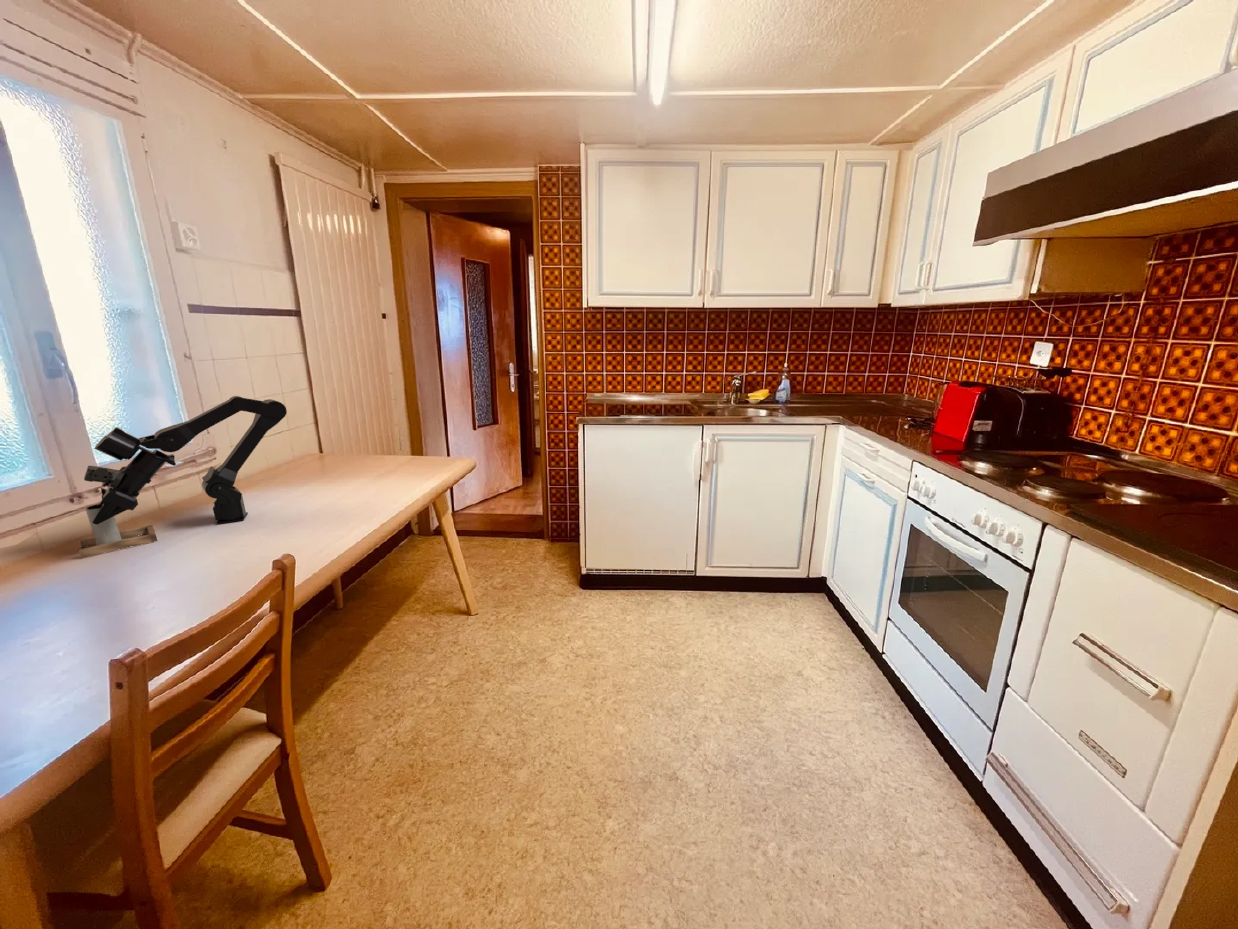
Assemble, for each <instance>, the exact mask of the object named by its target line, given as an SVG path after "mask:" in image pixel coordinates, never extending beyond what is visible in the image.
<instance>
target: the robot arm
mask: <svg viewBox="0 0 1238 929" xmlns="http://www.w3.org/2000/svg"><path fill="white" fill-rule="evenodd" d="M239 412H247V413H251V414H254V417H253V421H252V423H251V424H250V426H249V428H247V430H246V431H245V432H244V434H243V436H242V437H241V438H240V439H239V441H238V442H237V443H236V445H235V446H234V447H233V449H232V451H231V452H230V453H229V455H227V457H226V459H225V460H224V462H222V464H220V465H219V466H217V467H213V466H210V467H209V469H208V471H207V472H206V474H205V475H204V476H202V477H201V479H202V482H201V487H202V490H203V491H204V492H205V494H206V495H207V496H208V497H210V498H211V499H215V500H214V502H213V505H214V506H213V507H212V511H213V516H214V520H215V521H216V522H215V523H216V524H217V525H222V524H228V523H234V522H241V521H242V522H243V521H244V520H245V519H246V517H247V516H248V515H249V513H248V512H246V507H245V501H244V498H243V493H241V491H239V489H238V488H237V487H236V486H234V485H235V482H236V479H237V476H238V473H239V471H240V470H241V468H242V467H243V465H245V462H246V461H247V460H248V459H249V457H250V456H251V454H253V452H254V450H255V449H256V448H257V446H258V445H259V443H260V442H261V441H262V439H263V438H264V437H265V435H266V434H267V433H268V431H269V430H272V428H274V427H275V426H277V425H278V424H279V423H280V422H281V421H282V420H283V419H284V418H285V417H286V415H287V413H288V412H287V407H286V406H285V404H283V403H282V402H280V401H277V400H274V399H264V400H258V399H251V398H245V397H242V396H239V395H233V396H231V397H230V398H229V399H227V400H225V401H224V402H222V403H220V404H218V405H216V406H214V407H211V408H210V409H208V410H206V411H204V412H202V413H200V414H199V415H196V416H195V417H193V418H191V419H189V420H187V421H184V422H180V423H177V424H173V425H169V426H168V427H163V428H161V429H159V430H157V431H155V433H153V434H151V435H147V436H141V437H136V436H134V435H132V434H131V433H128V432H125V431H124V430H123V429H121V428H120V427H114V428H113V430H111V431H109V433H107V435H104V436H103V437H102V438H101V439H100V440H99V442H97V443H96V445H95V447H94V450H96V451H99V452H100V453H103V454H104V455H108V456H110V457H111V458H113V459H116V460H119V461H123V460H131V461H130V462H129V463H128V464H127V465H125V466H122V467H121V468H120V469H113V468H109V467H103V466H95V465H87V469H86V472H85V474H84V479H83V480H84V481H85V482H89V483H91V482H96V483H101V486H102V487H100V491H101V500H100V502H99V504H103V503H104V504H103V505H102V507H101V509H100V510H99V512H98V513H97V515H96V517H95V518H94V520H93V522H92V523H93V524H96V525H98V524H100V523H102V522H104V521H106V520H108V519H110V518H112V517H116V516H118V515H120V514H122V513H124V512H126V511H134V510H135V509H136V508H137V506H139V502H138V498H137V497H138V496H139V495H140V492H141V491H142V489H143V488H145V486H146V485H147V484H148V485H149V484H150V483H151V482H152V479H153V477H154V476H155V475H156V474H157V473H158V471H160V469H161V468H162V467H163V466H164V465H165V464H169V465H171V466H174V467H175V466H176V465H177V464H176V460H175V455H174V454H173V453H175V452H178V451H180V450H181V449H182V448H184V447H185V446H186V445H188V444H189V443H190V442H191V441H192V440H193V439H194V438H195V437H197V436H198V435H199V434H201V433H203V432H204V431H206V430H208V429H210V428H212V427H213V426H215V425H217V424H219V423H221V422H223V421H224V420H226V419H228V418H230V417H232V416H234V415H236V414H238V413H239ZM153 449H154V450H153ZM139 450H140V451H139ZM152 450H153V451H152ZM138 451H139V452H138ZM165 452H166V453H171V454H166V453H165ZM136 454H137V455H136ZM133 457H134V458H133ZM132 458H133V459H132ZM104 487H106V488H104Z"/></svg>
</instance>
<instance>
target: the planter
mask: <svg viewBox="0 0 1238 929" xmlns="http://www.w3.org/2000/svg"><path fill="white" fill-rule="evenodd" d="M103 504H104V503H103ZM103 504H100V503H97V504H93V505H90V506H87V507H85V511H86V515H87V518H88V521H89V524H90V528H91V531H92V534H93V537H95V540H96V543H97V545H96V546H98V545H103V544H107V543H112V542H116V541H121V540H122V539H121V536H120V533H119V532H120V529H119V527H118V523H117V521H116V516H114V517H112V518H110V519H108V520H106V521H104V522H102V523H100V524H98V525H96V524H93V523H92V522H93V520H94V518H95V517H96V515H97V513H98V512H99V510H100V509H101V507H102V505H103Z"/></svg>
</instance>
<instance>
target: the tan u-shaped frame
mask: <svg viewBox="0 0 1238 929" xmlns="http://www.w3.org/2000/svg"><path fill="white" fill-rule="evenodd" d="M119 533H120V536H121V539H123V540H121V541H116V542H112V543H107V544H103V545H98V546H97V543H96V540H95V537H94V536H91V537H87V538H82V539H79V543H80V547H81V548H80V549H78V551H79V555H80V557H81V559H85V558H90V557H93V556H92V555H95V556H98V555H97V554H99V555H101V554H100V553H104V552H108V553H112V552H116V551H115V550H117V551H119V550H118V549H121V550H123V549H122V548H126V547H130V546H135V547H138V546H137V545H139V546H142V545H141V544H143V545H147V544H146V543H148V544H150V543H149V542H152V543H155V542H154V541H157V542H158V538H157V534H156V532H155V528H154V526H153V524H150V525H144V526H140V527H135V528H130V529H125V530H119ZM141 534H146V535H141ZM138 535H141V536H138ZM134 536H137V537H134ZM130 537H132V538H130ZM126 538H127V539H126ZM93 545H95V546H93ZM86 546H90V547H86ZM82 547H86V548H82ZM130 548H131V547H130ZM126 549H127V548H126ZM111 551H112V552H111ZM104 554H105V553H104ZM89 556H90V557H89Z"/></svg>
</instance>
